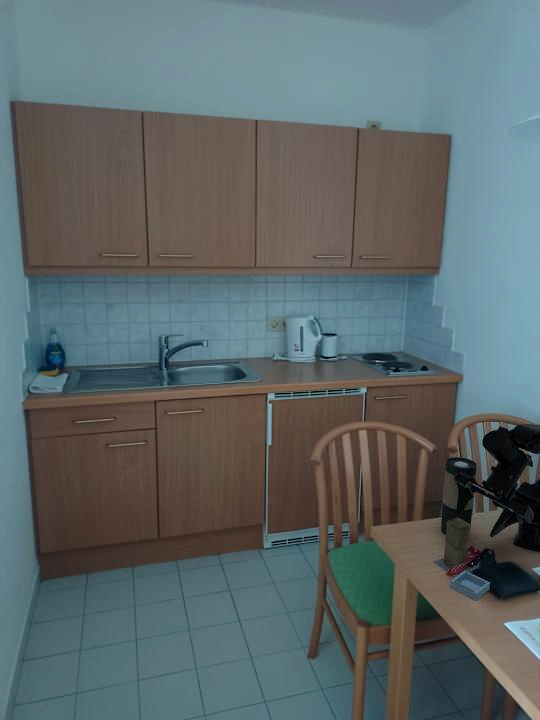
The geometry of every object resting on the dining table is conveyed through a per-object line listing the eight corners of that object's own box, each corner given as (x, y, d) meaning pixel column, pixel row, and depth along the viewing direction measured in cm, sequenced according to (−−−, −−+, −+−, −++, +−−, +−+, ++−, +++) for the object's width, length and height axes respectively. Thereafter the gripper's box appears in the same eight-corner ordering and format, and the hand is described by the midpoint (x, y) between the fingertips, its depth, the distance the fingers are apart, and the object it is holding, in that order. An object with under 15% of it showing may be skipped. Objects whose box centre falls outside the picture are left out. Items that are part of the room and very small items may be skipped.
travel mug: (434, 528, 142) (439, 458, 138) (458, 524, 144) (464, 455, 140) (451, 542, 134) (458, 469, 131) (476, 538, 137) (483, 466, 133)
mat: (454, 556, 129) (454, 554, 128) (477, 571, 122) (477, 569, 122) (432, 563, 125) (432, 561, 125) (455, 579, 119) (455, 577, 119)
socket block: (463, 578, 120) (464, 569, 119) (489, 590, 115) (490, 581, 115) (450, 588, 116) (450, 579, 115) (475, 602, 111) (476, 593, 111)
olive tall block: (454, 559, 126) (458, 517, 124) (466, 567, 123) (470, 524, 121) (443, 563, 125) (446, 520, 123) (454, 571, 121) (458, 528, 119)
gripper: (554, 503, 123) (520, 559, 121) (484, 469, 138) (452, 519, 135) (541, 483, 117) (505, 543, 114) (469, 450, 131) (436, 502, 129)
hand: (473, 526), depth 123 cm, fingers open, 9 cm apart
